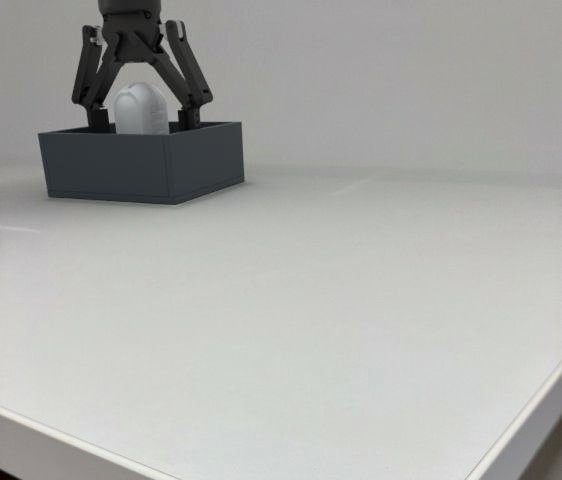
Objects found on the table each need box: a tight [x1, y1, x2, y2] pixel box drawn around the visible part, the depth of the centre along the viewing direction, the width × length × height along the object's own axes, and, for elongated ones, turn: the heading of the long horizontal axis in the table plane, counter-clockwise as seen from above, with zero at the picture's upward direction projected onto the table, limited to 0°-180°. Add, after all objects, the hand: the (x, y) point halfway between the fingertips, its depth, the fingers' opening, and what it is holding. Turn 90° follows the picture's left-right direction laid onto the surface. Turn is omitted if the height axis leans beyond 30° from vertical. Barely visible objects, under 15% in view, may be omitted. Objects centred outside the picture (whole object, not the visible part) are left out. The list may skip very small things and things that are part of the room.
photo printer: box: [113, 81, 169, 135], centre depth 89 cm, size 10×4×12 cm, turn 168°
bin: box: [37, 120, 246, 206], centre depth 91 cm, size 20×18×8 cm
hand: (146, 162), depth 91 cm, fingers open, 13 cm apart
